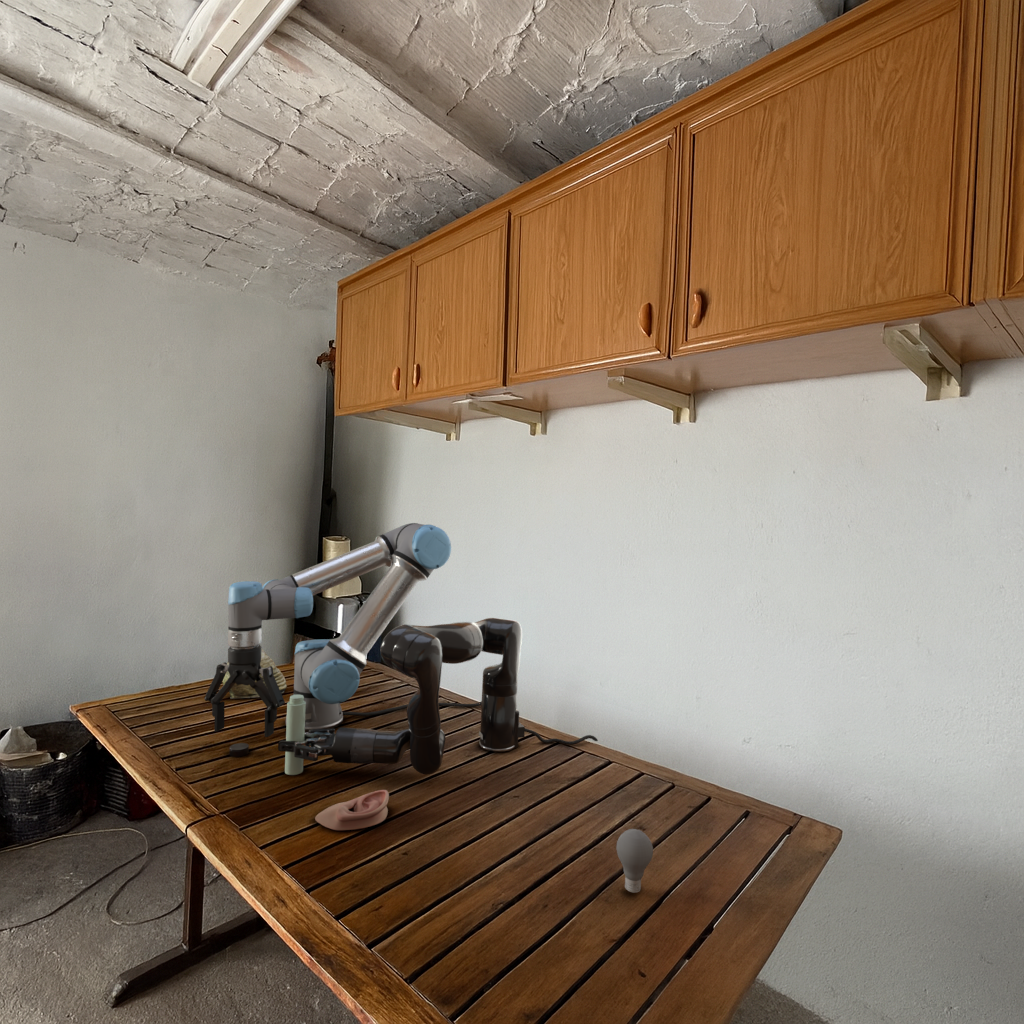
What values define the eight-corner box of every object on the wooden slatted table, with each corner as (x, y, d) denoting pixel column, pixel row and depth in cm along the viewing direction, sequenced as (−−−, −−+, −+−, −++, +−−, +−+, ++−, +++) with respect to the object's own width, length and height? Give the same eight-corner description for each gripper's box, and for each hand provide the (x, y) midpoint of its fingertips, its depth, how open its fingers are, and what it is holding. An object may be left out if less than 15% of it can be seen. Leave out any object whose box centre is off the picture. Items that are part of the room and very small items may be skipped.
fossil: (218, 695, 195) (220, 647, 195) (278, 685, 208) (279, 640, 207) (228, 703, 189) (230, 653, 188) (289, 692, 201) (290, 645, 201)
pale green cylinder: (306, 770, 146) (309, 696, 146) (292, 776, 143) (294, 700, 142) (295, 766, 148) (298, 692, 148) (281, 771, 145) (283, 696, 144)
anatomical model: (307, 805, 121) (336, 780, 133) (306, 826, 121) (335, 798, 133) (372, 815, 119) (395, 788, 130) (371, 836, 119) (394, 807, 130)
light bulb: (610, 879, 108) (613, 822, 108) (644, 879, 109) (647, 822, 109) (619, 902, 102) (622, 840, 102) (655, 901, 103) (658, 840, 103)
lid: (234, 749, 156) (234, 742, 156) (251, 750, 156) (251, 743, 156) (226, 756, 152) (226, 749, 152) (244, 757, 152) (244, 750, 152)
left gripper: (189, 645, 153) (188, 732, 153) (282, 653, 148) (281, 743, 148) (209, 638, 160) (209, 722, 161) (299, 645, 155) (298, 731, 156)
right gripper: (365, 718, 152) (294, 715, 152) (348, 741, 138) (270, 737, 138) (364, 749, 152) (293, 746, 152) (347, 775, 138) (269, 771, 138)
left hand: (244, 732), depth 154 cm, fingers open, 13 cm apart
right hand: (283, 741), depth 145 cm, fingers closed on pale green cylinder, 4 cm apart
